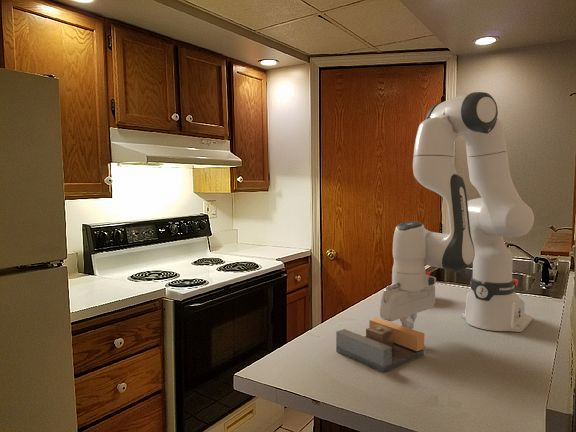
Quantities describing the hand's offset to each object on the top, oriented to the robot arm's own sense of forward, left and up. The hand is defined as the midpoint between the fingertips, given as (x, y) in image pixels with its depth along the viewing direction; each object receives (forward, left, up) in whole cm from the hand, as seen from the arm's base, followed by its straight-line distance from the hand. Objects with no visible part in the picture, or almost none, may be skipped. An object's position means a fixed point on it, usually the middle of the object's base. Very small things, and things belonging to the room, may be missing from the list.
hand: (407, 329), depth 121 cm
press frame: (+12, 0, -4) cm, 12 cm away
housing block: (+12, 0, -2) cm, 12 cm away
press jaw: (+5, 0, -2) cm, 6 cm away
